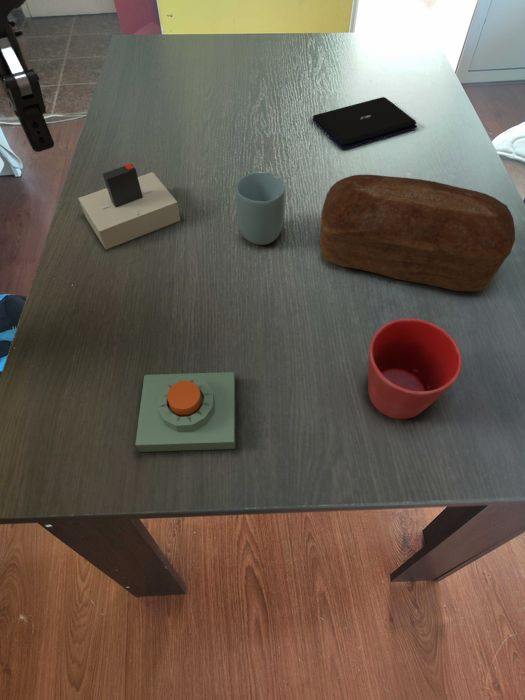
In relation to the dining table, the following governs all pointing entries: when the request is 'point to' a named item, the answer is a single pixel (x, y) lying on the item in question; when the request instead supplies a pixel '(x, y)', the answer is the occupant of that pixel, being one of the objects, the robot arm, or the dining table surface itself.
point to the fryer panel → (130, 212)
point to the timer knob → (123, 185)
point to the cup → (260, 206)
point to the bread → (416, 231)
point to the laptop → (363, 122)
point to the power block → (192, 430)
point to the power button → (184, 398)
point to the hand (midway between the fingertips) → (42, 146)
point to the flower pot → (410, 366)
